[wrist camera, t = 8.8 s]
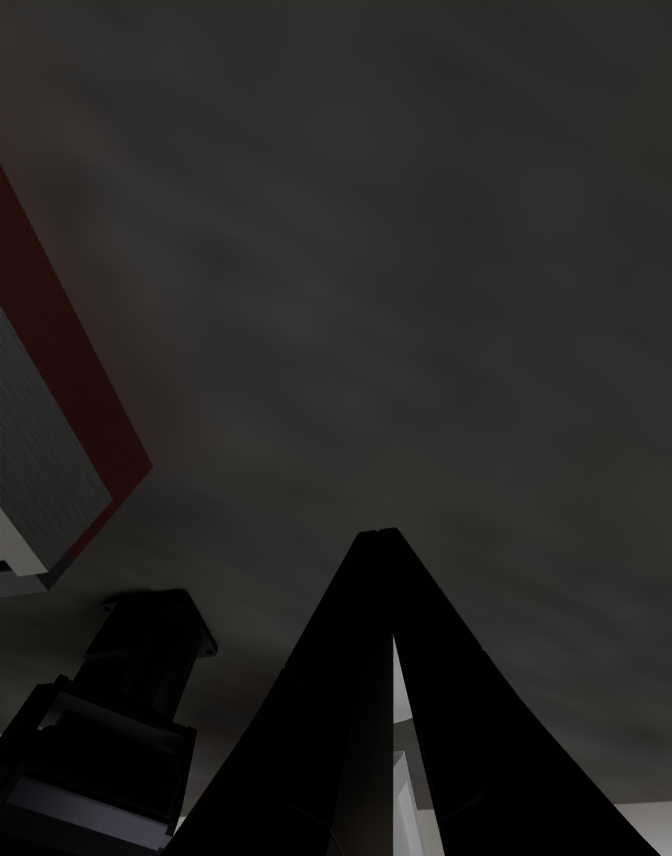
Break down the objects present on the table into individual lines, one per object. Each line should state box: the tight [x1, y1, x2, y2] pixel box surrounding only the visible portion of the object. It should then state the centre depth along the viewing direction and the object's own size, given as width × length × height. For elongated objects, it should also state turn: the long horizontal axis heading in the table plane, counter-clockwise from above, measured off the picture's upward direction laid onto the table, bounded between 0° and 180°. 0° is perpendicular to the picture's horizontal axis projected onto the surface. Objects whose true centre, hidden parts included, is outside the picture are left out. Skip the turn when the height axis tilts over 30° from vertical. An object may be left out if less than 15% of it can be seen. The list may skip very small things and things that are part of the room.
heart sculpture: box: [393, 637, 426, 856], centre depth 22 cm, size 16×5×18 cm, turn 17°
